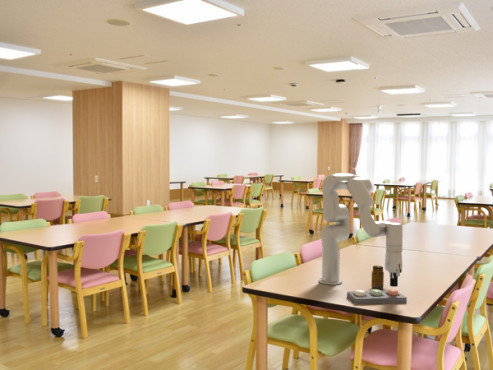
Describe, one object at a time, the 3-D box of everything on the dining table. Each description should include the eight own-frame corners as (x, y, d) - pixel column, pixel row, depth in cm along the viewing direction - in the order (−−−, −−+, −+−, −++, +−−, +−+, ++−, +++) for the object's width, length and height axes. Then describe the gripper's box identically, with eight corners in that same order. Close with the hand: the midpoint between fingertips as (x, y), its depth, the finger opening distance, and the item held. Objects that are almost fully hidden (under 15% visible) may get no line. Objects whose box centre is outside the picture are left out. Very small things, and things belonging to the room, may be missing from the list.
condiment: (374, 286, 245) (375, 264, 244) (389, 289, 239) (390, 266, 238) (367, 289, 240) (368, 266, 239) (383, 292, 234) (383, 269, 233)
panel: (346, 296, 226) (347, 291, 226) (395, 295, 229) (395, 290, 229) (355, 304, 214) (355, 298, 214) (406, 302, 217) (406, 297, 217)
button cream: (352, 294, 223) (353, 289, 222) (362, 294, 223) (363, 289, 223) (356, 297, 218) (356, 292, 217) (366, 297, 218) (366, 292, 218)
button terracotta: (385, 293, 225) (385, 289, 224) (395, 293, 225) (395, 288, 225) (389, 296, 220) (389, 292, 219) (399, 296, 220) (399, 291, 220)
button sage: (369, 294, 224) (369, 289, 223) (379, 293, 224) (379, 289, 224) (373, 297, 219) (373, 292, 218) (383, 296, 219) (383, 292, 219)
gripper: (380, 246, 228) (380, 282, 229) (393, 251, 213) (393, 290, 214) (394, 245, 229) (394, 282, 230) (408, 251, 214) (408, 289, 215)
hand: (393, 286), depth 222 cm, fingers closed
